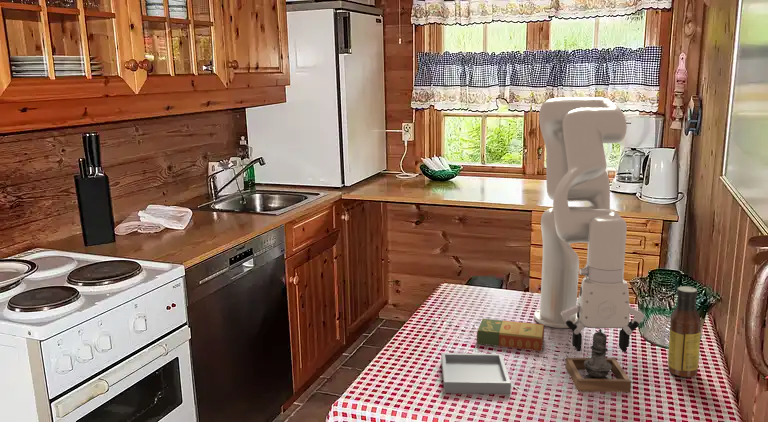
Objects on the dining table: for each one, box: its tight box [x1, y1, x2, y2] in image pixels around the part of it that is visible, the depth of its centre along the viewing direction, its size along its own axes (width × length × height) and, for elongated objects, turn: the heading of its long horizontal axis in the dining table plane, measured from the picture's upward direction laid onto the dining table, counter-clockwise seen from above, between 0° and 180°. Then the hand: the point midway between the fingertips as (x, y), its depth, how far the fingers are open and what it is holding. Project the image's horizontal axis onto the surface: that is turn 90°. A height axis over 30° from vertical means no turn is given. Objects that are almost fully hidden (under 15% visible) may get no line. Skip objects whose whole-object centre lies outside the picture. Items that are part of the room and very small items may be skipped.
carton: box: [476, 317, 545, 352], centre depth 158 cm, size 8×16×4 cm, turn 72°
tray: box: [440, 352, 512, 395], centre depth 139 cm, size 14×14×2 cm
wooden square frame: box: [565, 357, 632, 393], centre depth 138 cm, size 11×11×2 cm
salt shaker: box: [583, 328, 612, 379], centre depth 137 cm, size 6×6×12 cm
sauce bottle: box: [667, 285, 702, 378], centre depth 139 cm, size 6×6×20 cm
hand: (599, 349), depth 136 cm, fingers open, 9 cm apart
